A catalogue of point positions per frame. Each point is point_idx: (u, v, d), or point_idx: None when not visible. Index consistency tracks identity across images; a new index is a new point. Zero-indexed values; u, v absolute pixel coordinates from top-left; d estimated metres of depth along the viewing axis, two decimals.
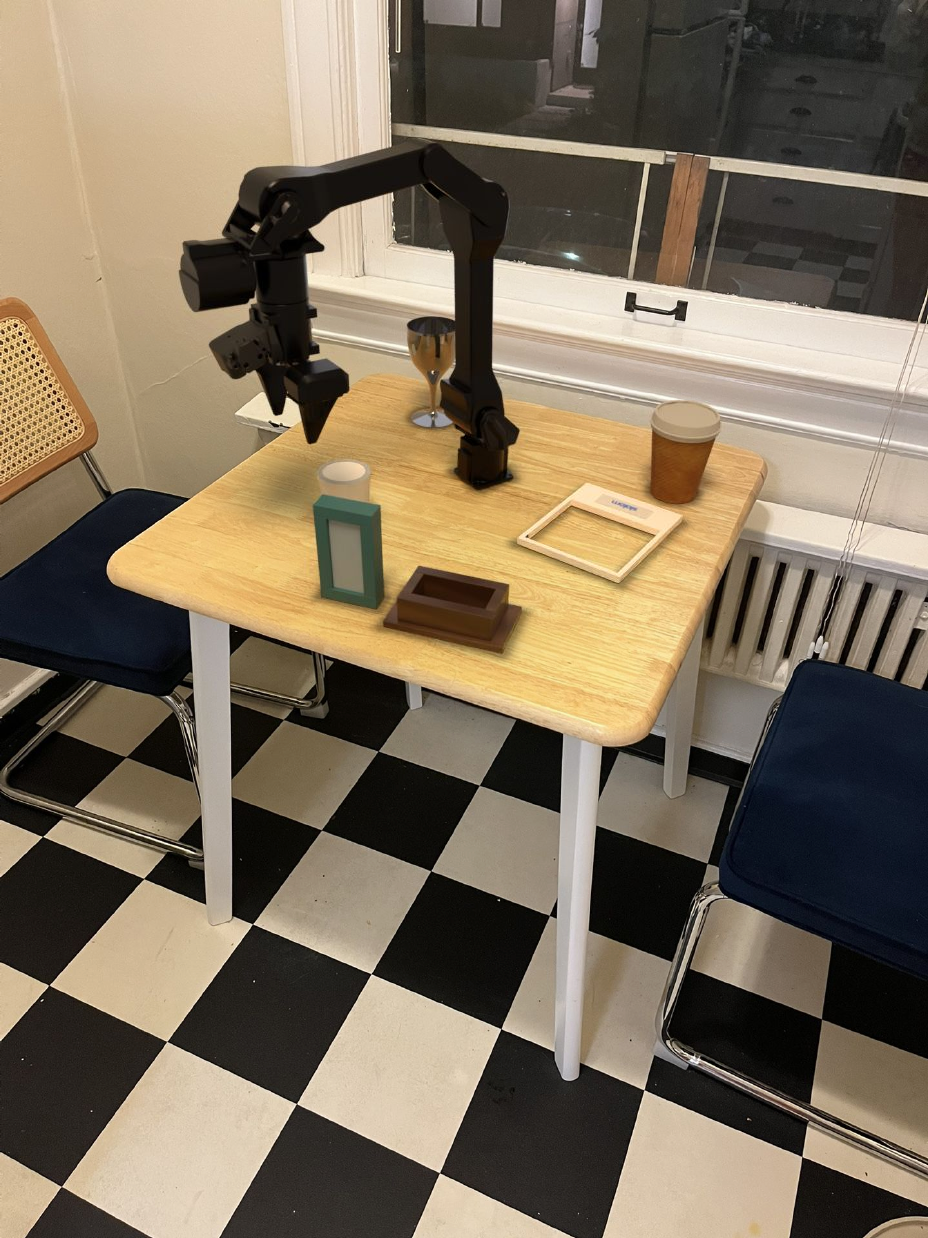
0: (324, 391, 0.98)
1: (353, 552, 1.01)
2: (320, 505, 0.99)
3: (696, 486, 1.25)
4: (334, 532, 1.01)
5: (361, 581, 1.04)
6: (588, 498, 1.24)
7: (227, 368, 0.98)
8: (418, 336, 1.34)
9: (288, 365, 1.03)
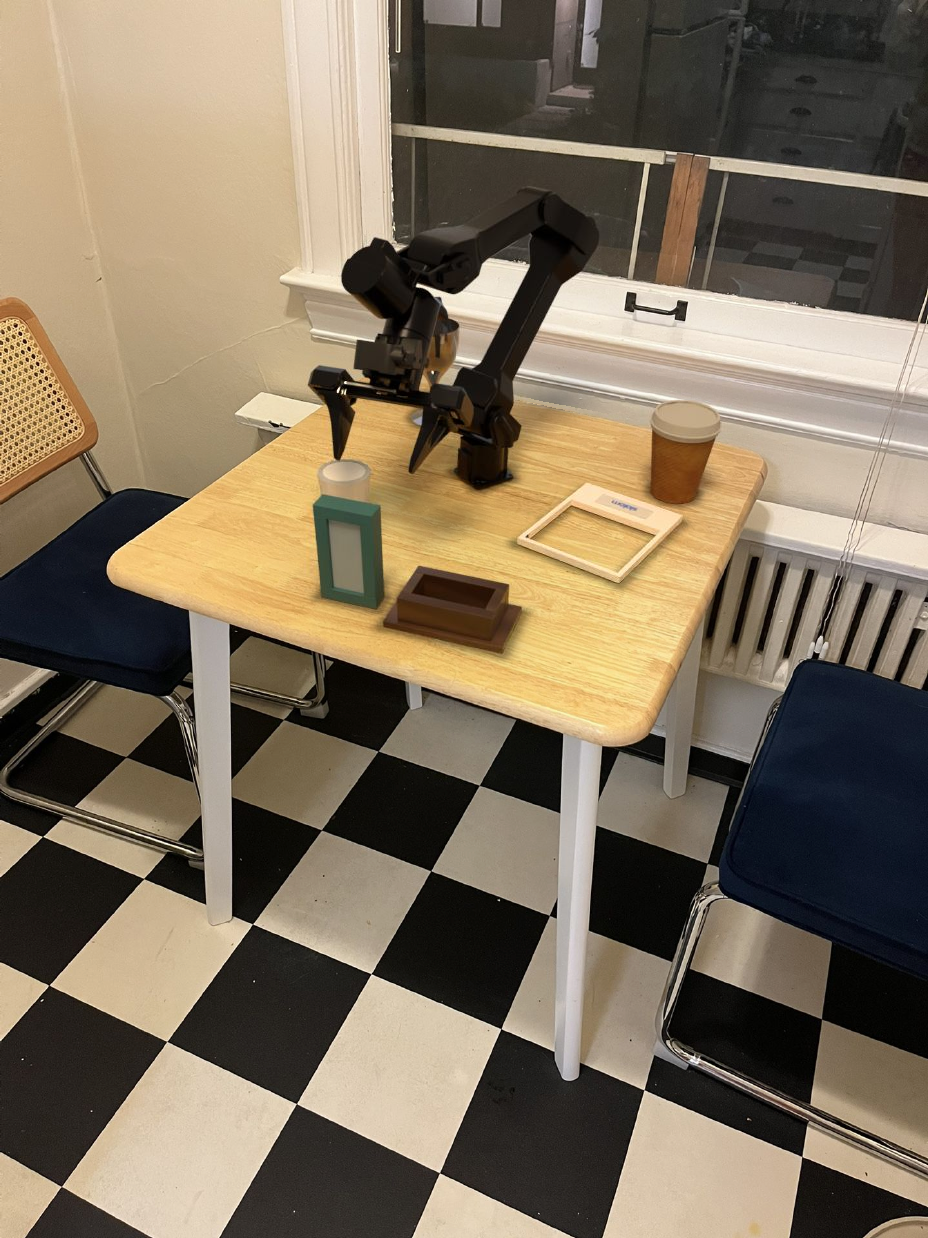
0: (466, 411, 1.02)
1: (353, 552, 1.01)
2: (320, 505, 0.99)
3: (696, 486, 1.25)
4: (334, 532, 1.01)
5: (361, 581, 1.04)
6: (588, 498, 1.24)
7: (386, 360, 0.97)
8: None
9: (396, 398, 1.04)
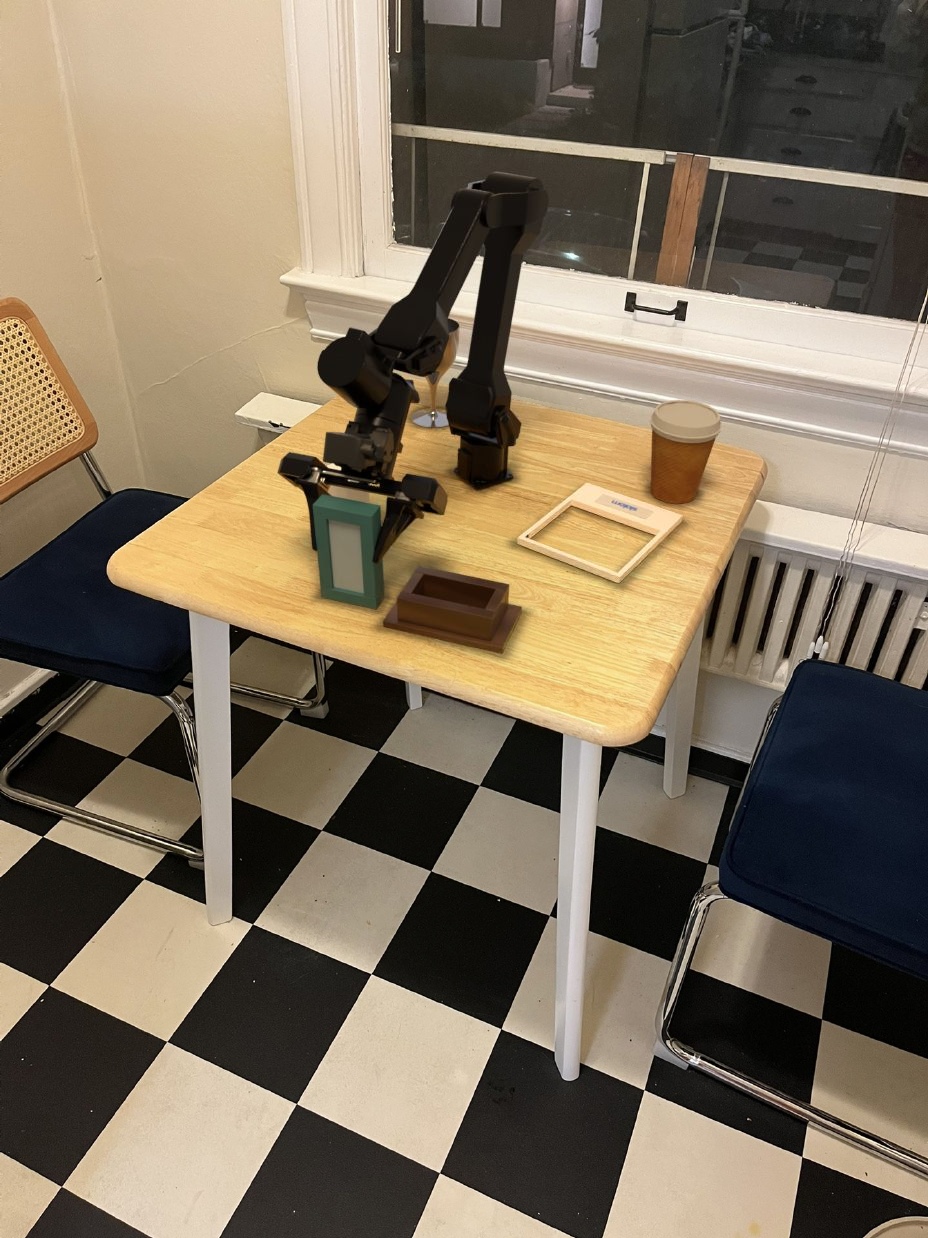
0: (439, 501, 1.00)
1: (353, 552, 1.01)
2: (320, 505, 0.99)
3: (696, 486, 1.25)
4: (334, 532, 1.01)
5: (361, 581, 1.04)
6: (588, 498, 1.24)
7: (356, 454, 0.94)
8: None
9: (368, 486, 1.02)
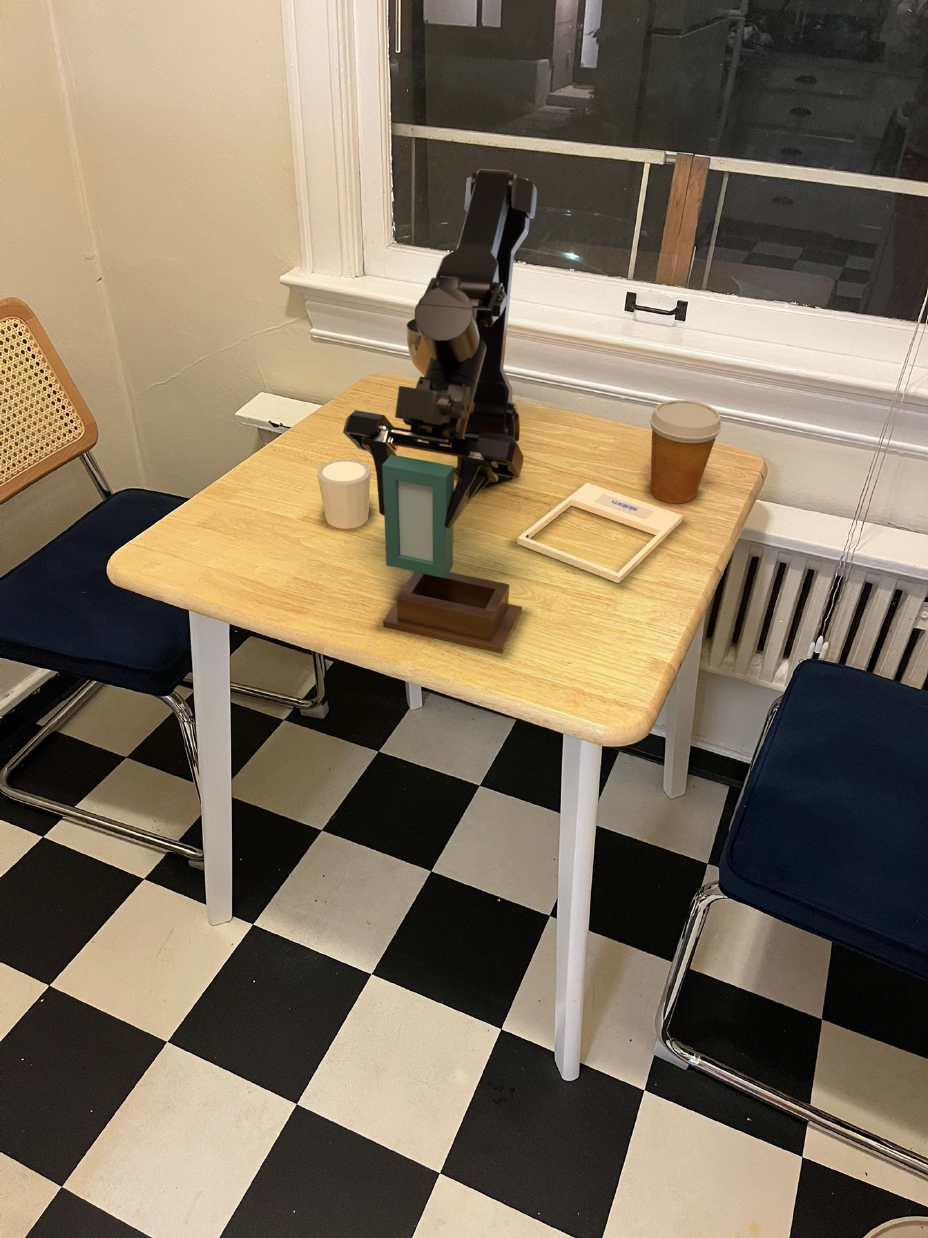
0: (517, 462, 0.94)
1: (423, 516, 0.96)
2: (390, 465, 0.93)
3: (696, 486, 1.25)
4: (404, 495, 0.95)
5: (430, 548, 0.98)
6: (588, 498, 1.24)
7: (432, 409, 0.88)
8: (418, 336, 1.34)
9: (440, 447, 0.96)
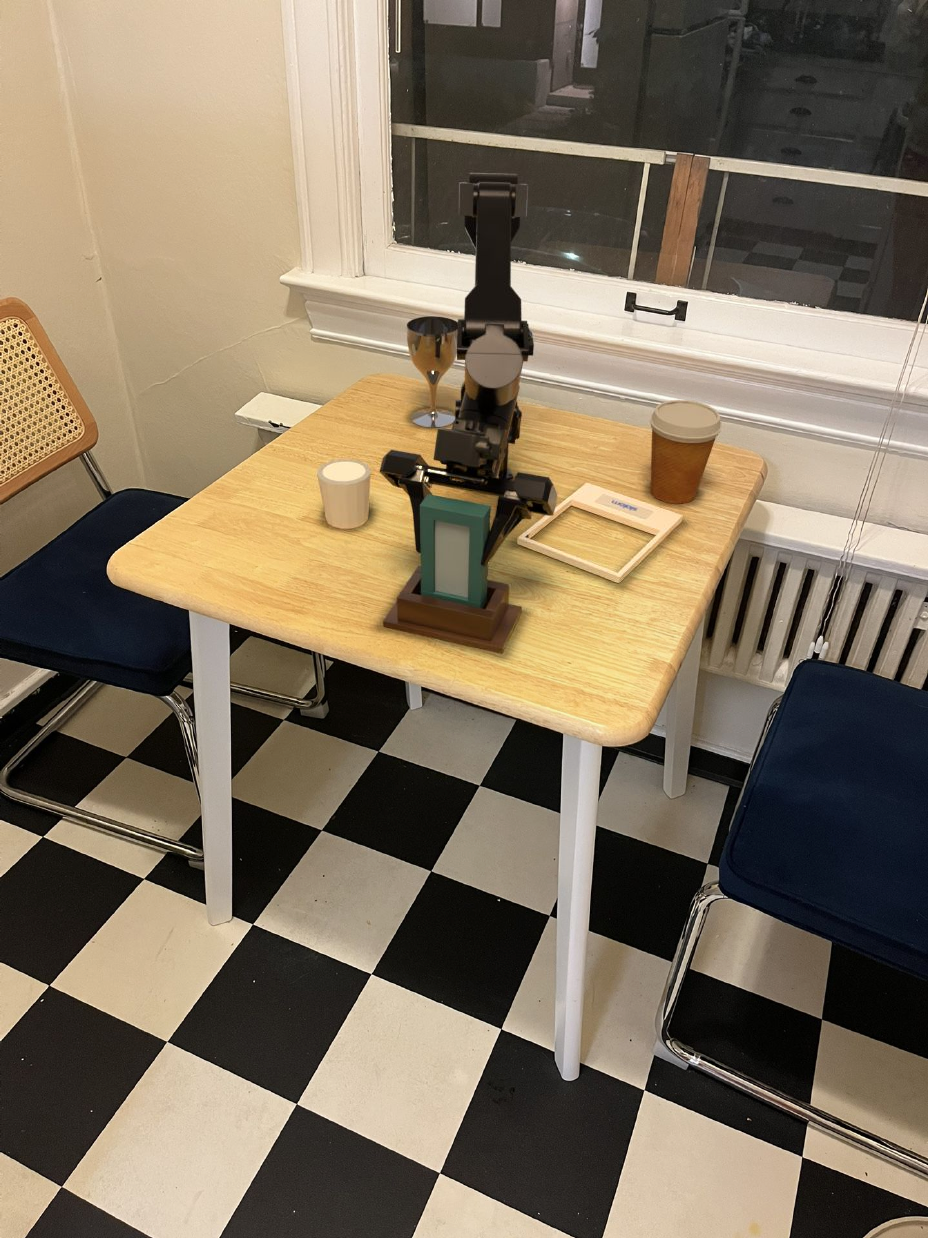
0: (552, 501, 0.95)
1: (459, 554, 0.97)
2: (428, 505, 0.94)
3: (696, 486, 1.25)
4: (440, 534, 0.96)
5: (465, 585, 0.99)
6: (588, 498, 1.24)
7: (471, 452, 0.90)
8: (418, 336, 1.34)
9: (475, 486, 0.97)
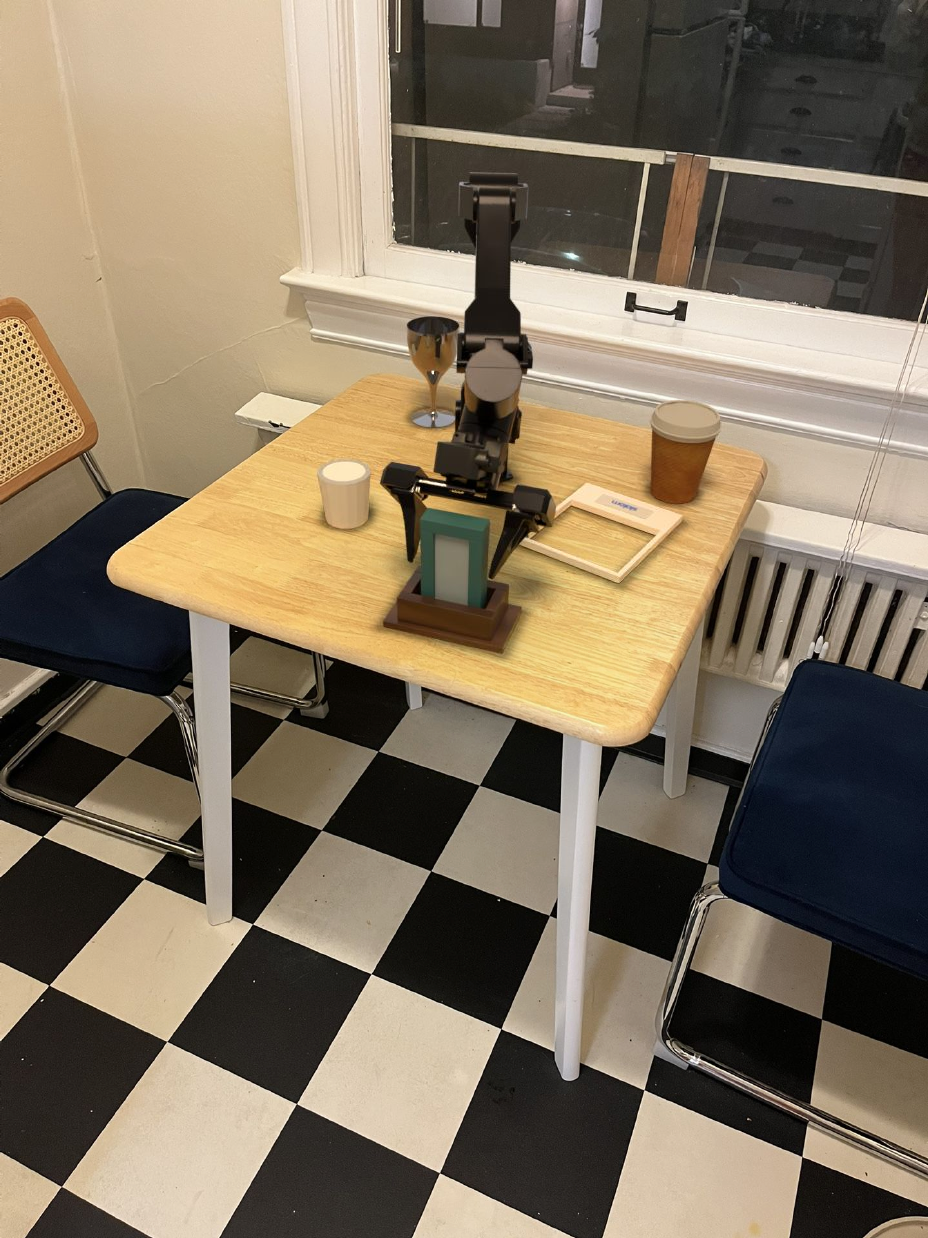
0: (550, 513, 0.96)
1: (459, 567, 0.98)
2: (428, 519, 0.95)
3: (696, 486, 1.25)
4: (440, 547, 0.97)
5: (465, 597, 1.00)
6: (588, 498, 1.24)
7: (470, 465, 0.91)
8: (418, 336, 1.34)
9: (475, 497, 0.98)
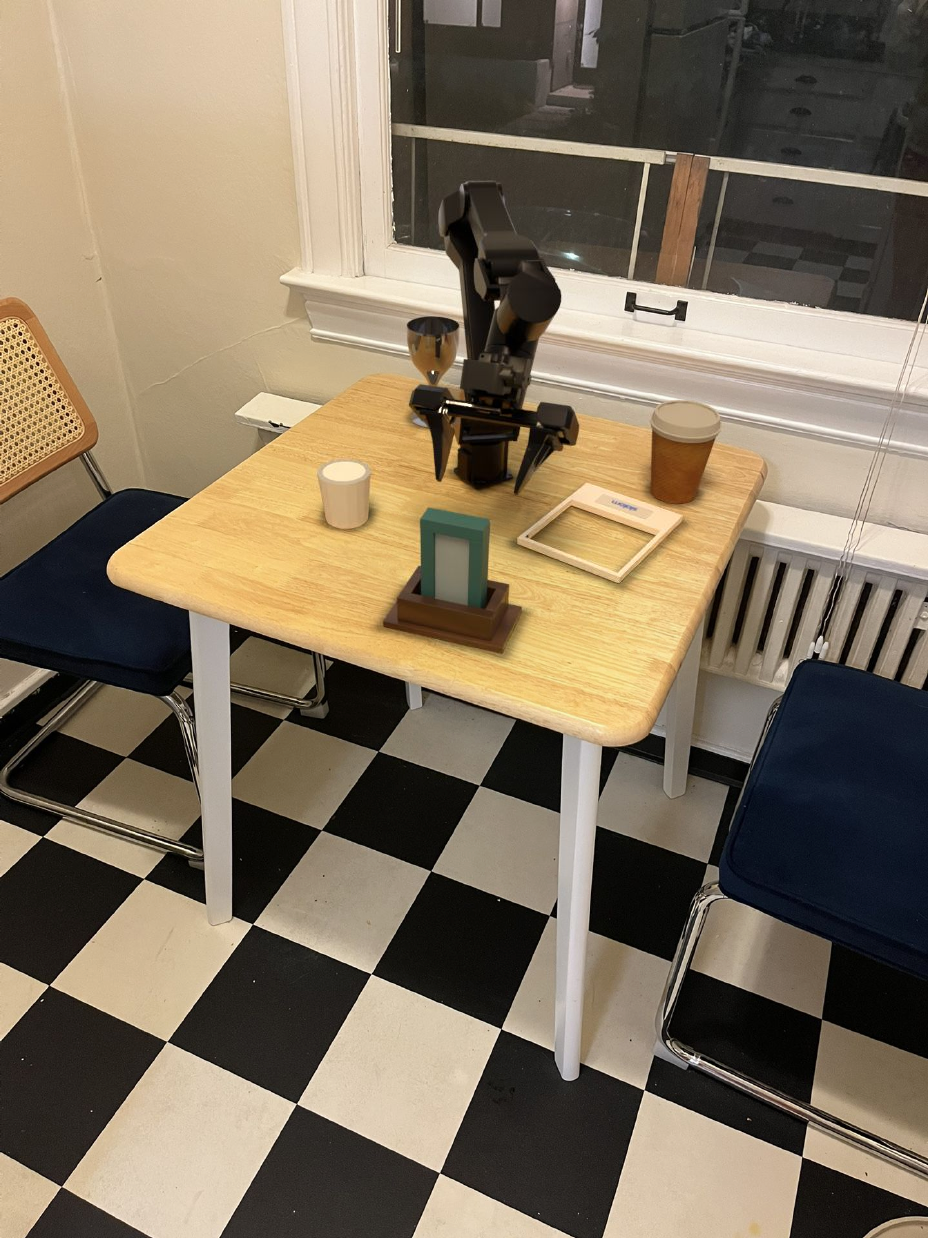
0: (573, 430, 0.99)
1: (459, 567, 0.98)
2: (428, 518, 0.95)
3: (696, 486, 1.25)
4: (440, 547, 0.97)
5: (465, 597, 1.00)
6: (588, 498, 1.24)
7: (495, 380, 0.94)
8: (418, 336, 1.34)
9: (500, 417, 1.01)
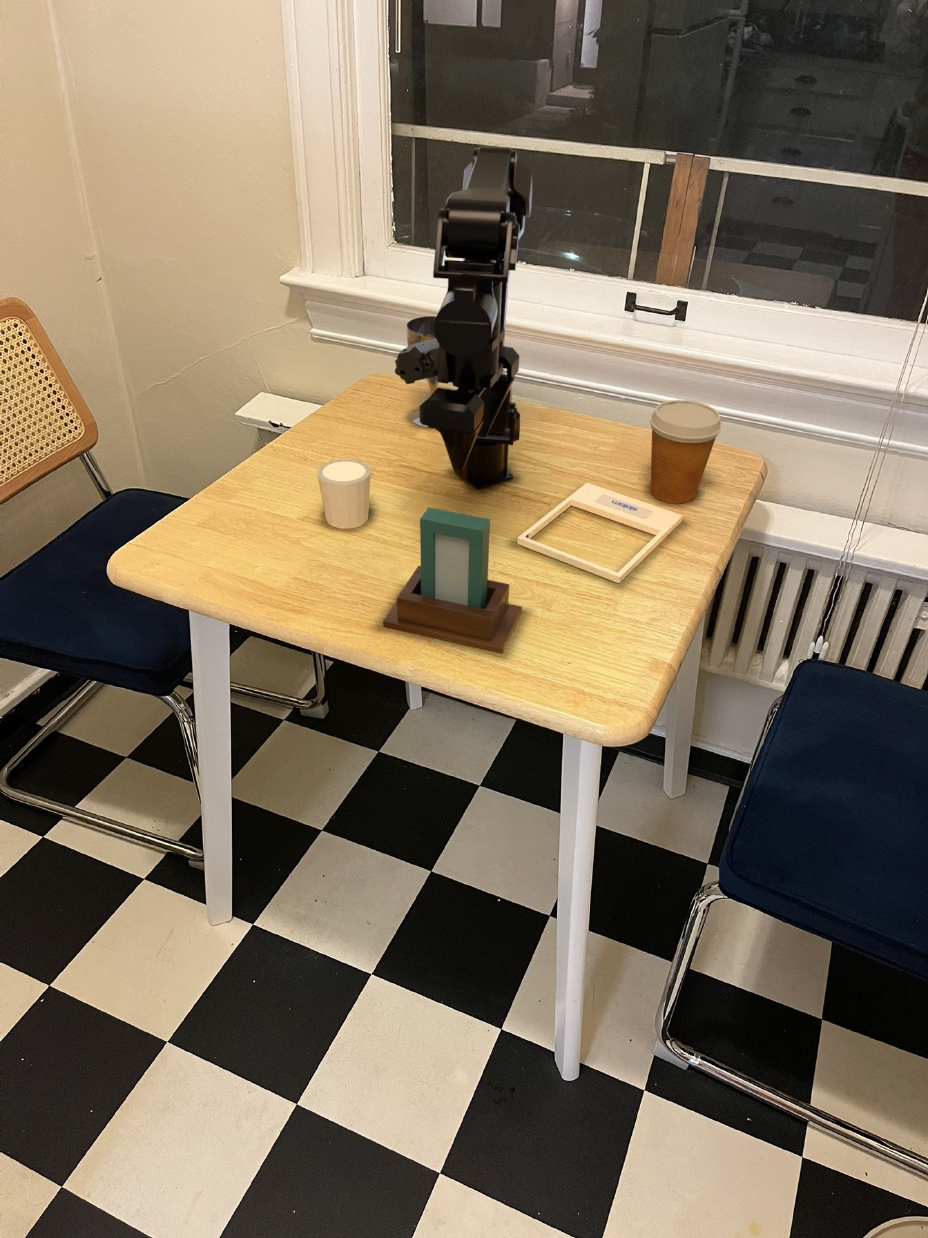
0: (442, 421, 0.96)
1: (459, 567, 0.98)
2: (428, 518, 0.95)
3: (696, 486, 1.25)
4: (440, 547, 0.97)
5: (465, 597, 1.00)
6: (588, 498, 1.24)
7: None
8: (418, 336, 1.34)
9: None
